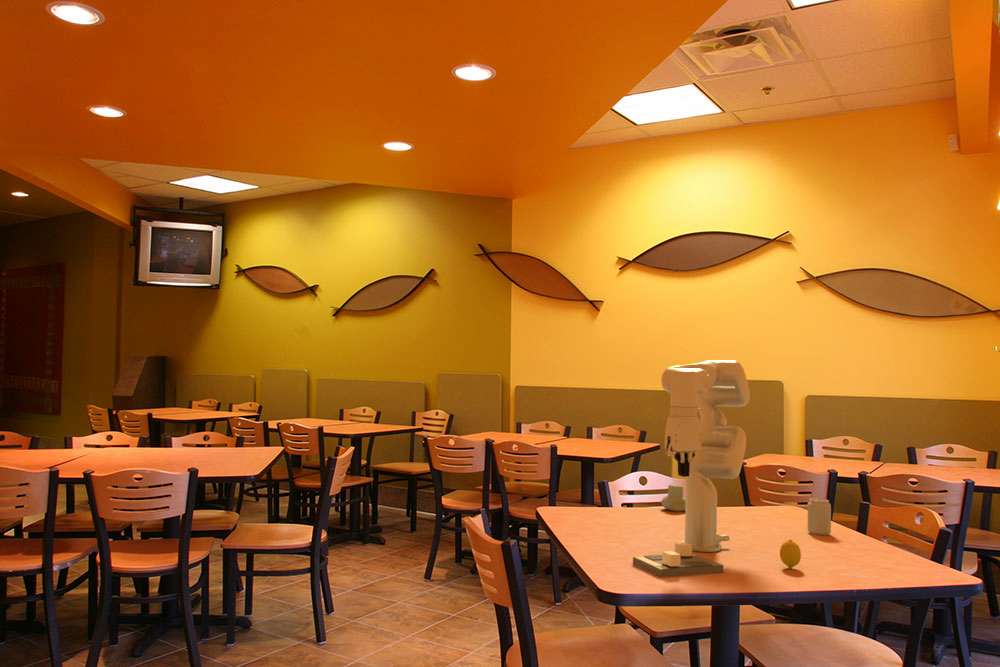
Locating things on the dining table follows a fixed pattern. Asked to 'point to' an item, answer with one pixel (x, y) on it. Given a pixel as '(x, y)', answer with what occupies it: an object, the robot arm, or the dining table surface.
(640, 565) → the switch panel
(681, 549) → the switch tab
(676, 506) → the air freshener
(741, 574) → the dining table surface
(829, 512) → the can
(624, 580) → the dining table surface
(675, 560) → the switch tab
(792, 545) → the lemon
